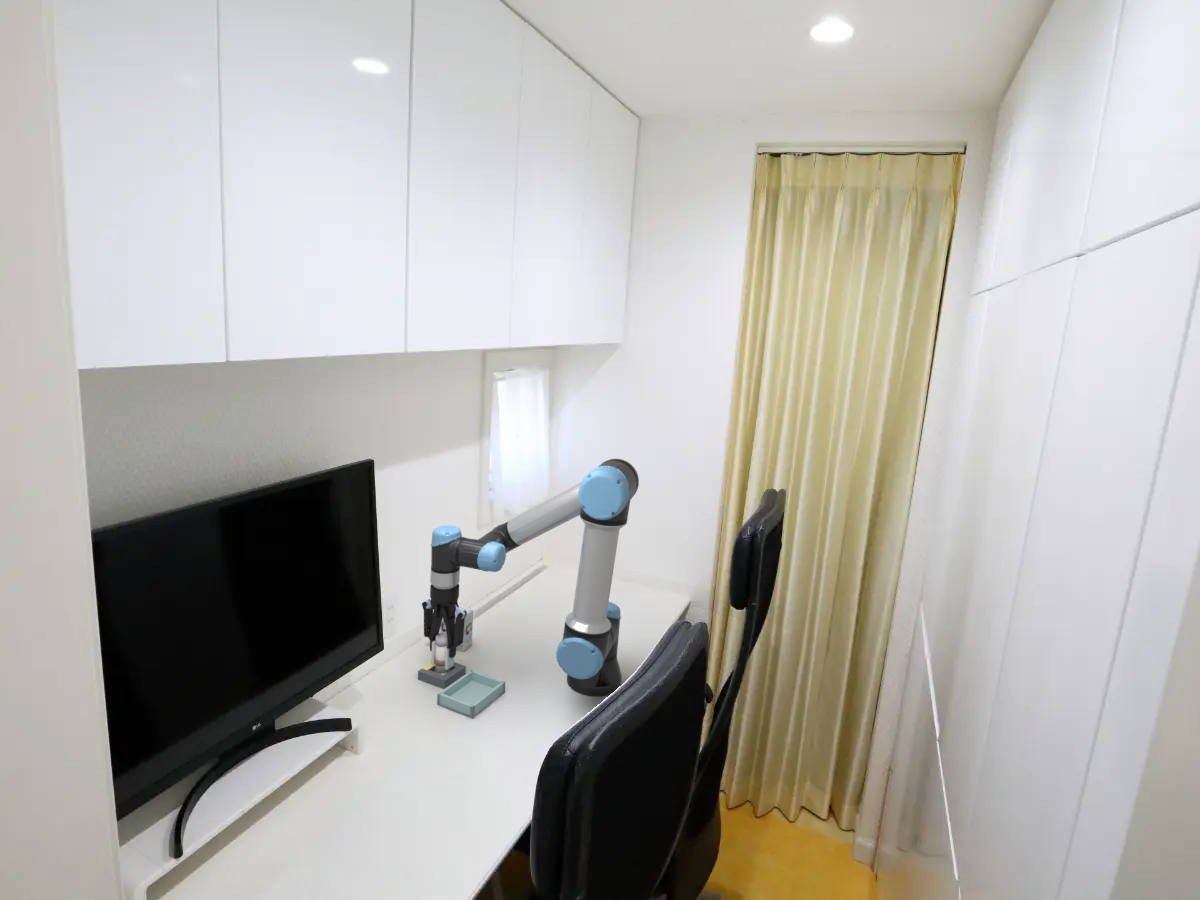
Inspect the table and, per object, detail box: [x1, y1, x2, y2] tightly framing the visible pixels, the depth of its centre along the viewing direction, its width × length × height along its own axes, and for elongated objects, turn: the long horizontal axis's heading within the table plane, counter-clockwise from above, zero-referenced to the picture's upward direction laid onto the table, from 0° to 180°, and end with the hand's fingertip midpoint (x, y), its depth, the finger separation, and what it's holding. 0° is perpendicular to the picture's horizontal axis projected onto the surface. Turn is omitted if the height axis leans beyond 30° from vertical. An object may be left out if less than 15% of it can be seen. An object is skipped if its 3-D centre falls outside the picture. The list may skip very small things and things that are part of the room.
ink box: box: [439, 605, 474, 653], centre depth 197 cm, size 8×5×12 cm, turn 71°
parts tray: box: [436, 669, 506, 719], centre depth 171 cm, size 11×14×3 cm
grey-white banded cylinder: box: [435, 632, 450, 675], centre depth 180 cm, size 4×4×12 cm
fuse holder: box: [417, 661, 467, 690], centre depth 180 cm, size 9×9×3 cm
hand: (442, 664), depth 180 cm, fingers closed on grey-white banded cylinder, 4 cm apart
